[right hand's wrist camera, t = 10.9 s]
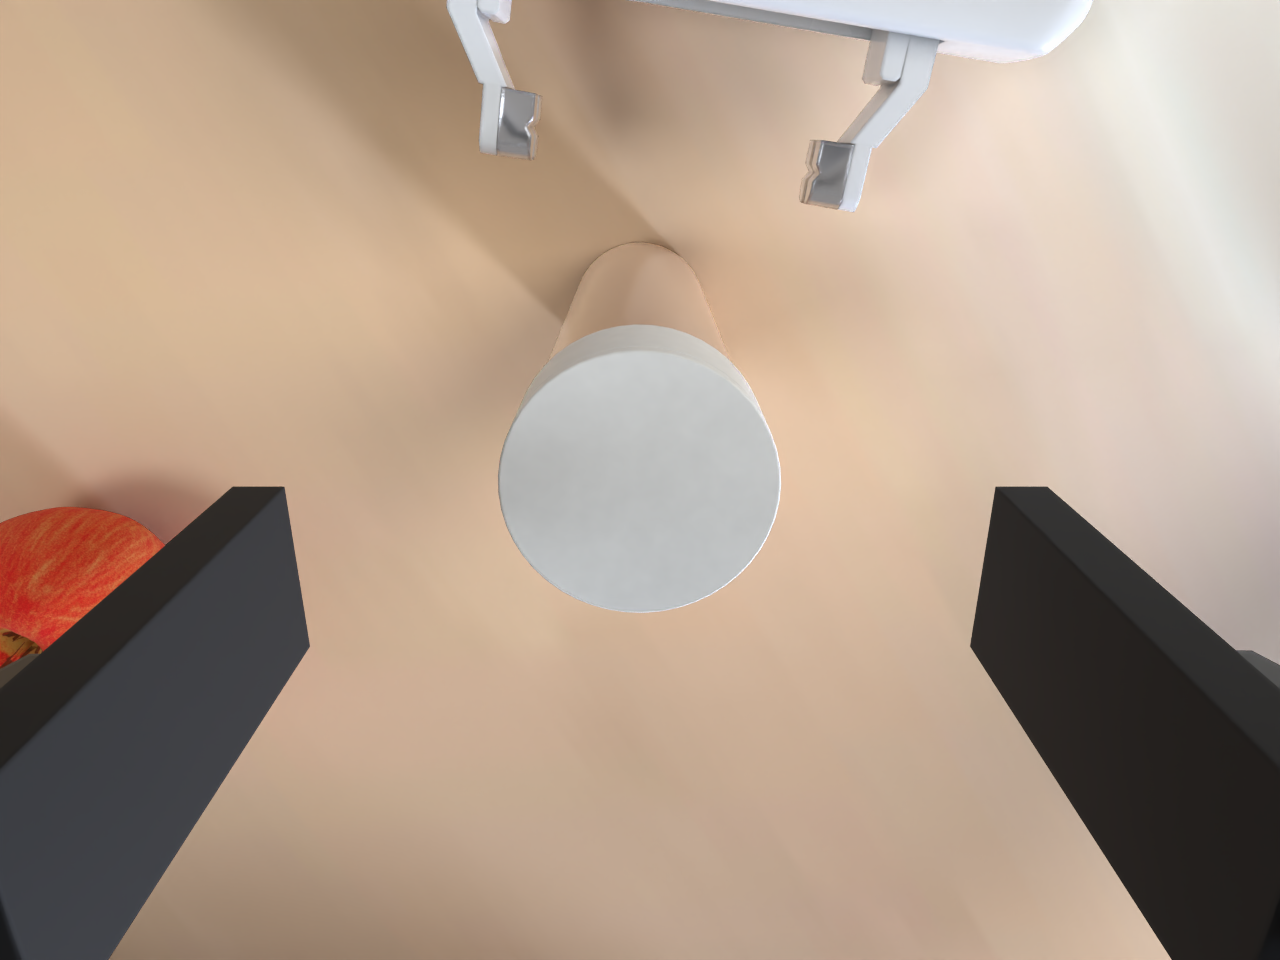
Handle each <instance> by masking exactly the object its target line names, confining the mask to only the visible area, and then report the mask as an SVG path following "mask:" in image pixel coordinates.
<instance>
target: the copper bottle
mask: <svg viewBox="0 0 1280 960" xmlns="http://www.w3.org/2000/svg"><path fill="white" fill-rule="evenodd" d="M625 325H655V326H661V327H667V328H672V329H675V330H678V331H681V332H685V333H687V334H690V335H692V336H694V337H696V338H698V339H701V340H703V341H704V342H706V343H707V344H709V345H710V346H712V347H714V348H715V349H717V350H718V351H719V352H720V353H721V354H723V355H724V356H725V357H726V358H727V359H729V360H730V357H729V355H728V352H727V350H726V347H725V345H724V342H723V340H722V337H721V335H720V332H719V330H718V327H717V325H716V322H715V320H714V317H713V315H712V312H711V310H710V307H709V305H708V302H707V300H706V297H705V295H704V292H703V290H702V287H701V285H700V282H699V280H698V278H697V276H696V274H695V273H694V271H693V270H692V268H691V267H690V266H689V265H688V264H687V262H686V261H685V260H683V259H682V258H681V257H680V256H679V255H677V254H676V253H674V252H673V251H671V250H669V249H667V248H665V247H663V246H659V245H656V244H651V243H643V242H636V243H628V244H623V245H620V246H617V247H615V248H612V249H610V250H608V251H607V252H605V253H603V254H602V255H601V256H599V257H598V258H597V259H596V260H595V261H594V262H593V263H592V264H591V265H590V266H589V268H588V269H587V270H586V272H585V274H584V275H583V277H582V279H581V281H580V284H579V286H578V288H577V291H576V293H575V296H574V298H573V301H572V303H571V306H570V308H569V311H568V313H567V316H566V318H565V321H564V323H563V326H562V328H561V331H560V333H559V336H558V338H557V341H556V343H555V346H554V348H553V351H552V353H551V355H550V358H549V360H548V362H549V361H550V360H551V359H552V358H553V357H554V356H555V355H556V354H557V353H559V352H560V351H561V350H563V349H564V348H565V347H567V346H568V345H570V344H571V343H573V342H575V341H577V340H579V339H581V338H583V337H584V336H587V335H589V334H592V333H595V332H597V331H600V330H604V329H608V328H612V327H617V326H625ZM730 361H731V360H730Z"/></svg>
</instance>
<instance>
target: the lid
mask: <svg viewBox="0 0 1280 960" xmlns="http://www.w3.org/2000/svg"><path fill="white" fill-rule="evenodd" d="M780 489H781V475H780V464H779V458H778V453H777V449H776V446H775V443H774V440H773V437H772V434H771V432H770V429H769V427H768V425H767V422H766V420H765V418H764V416H763V413H762V411H761V409H760V406H759V404H758V402H757V400H756V398H755V396H754V394H753V392H752V390H751V388H750V386H749V384H748V383H747V381H746V380H745V378H744V377H743V375H742V374H741V372H740V371H739V370H738V369H737V368H736V367H735V366H734V365H733V364H732V362H731V361H730V360H729V359H727V358H726V357H725V356H724V355H723V354H721V353H720V352H719V351H718V350H717V349H715V348H714V347H712V346H710V345H709V344H707V343H706V342H704V341H703V340H701V339H698V338H696V337H694V336H692V335H690V334H687V333H685V332H681V331H678V330H675V329H672V328H667V327H661V326H655V325H625V326H617V327H612V328H608V329H604V330H600V331H597V332H595V333H592V334H589V335H587V336H584V337H583V338H581V339H579V340H577V341H575V342H573V343H571V344H570V345H568V346H567V347H565V348H564V349H563V350H561V351H560V352H559V353H557V354H556V355H555V356H554V357H553V358H552V359H551V360H550V361H549V362H548V363H546V364H545V365H544V367H543V368H542V369H541V370H540V372H539V373H538V374H537V375H536V377H535V378H534V379H533V381H532V383H531V384H530V386H529V388H528V390H527V391H526V393H525V395H524V398H523V400H522V402H521V405H520V407H519V409H518V411H517V414H516V416H515V418H514V420H513V423H512V425H511V427H510V430H509V432H508V434H507V437H506V439H505V442H504V445H503V449H502V453H501V457H500V463H499V472H498V492H499V499H500V505H501V510H502V513H503V516H504V520H505V523H506V526H507V528H508V530H509V532H510V534H511V537H512V539H513V541H514V543H515V544H516V546H517V547H518V549H519V550H520V552H521V553H522V555H523V556H524V557H525V559H526V560H527V561H528V562H529V563H530V565H531V566H532V567H533V568H534V569H535V570H536V571H537V572H538V573H539V574H540V575H541V576H542V577H544V578H545V579H546V580H547V581H548V582H550V583H551V584H552V585H554V586H555V587H557V588H558V589H560V590H561V591H563V592H565V593H566V594H568V595H570V596H572V597H574V598H576V599H578V600H581V601H583V602H586V603H588V604H591V605H594V606H597V607H601V608H605V609H609V610H615V611H622V612H639V613H645V612H657V611H664V610H669V609H674V608H679V607H682V606H685V605H688V604H691V603H694V602H696V601H698V600H701V599H703V598H705V597H707V596H709V595H711V594H713V593H714V592H716V591H718V590H719V589H721V588H722V587H724V586H725V585H727V584H728V583H729V582H730V581H732V580H733V579H734V578H735V577H737V576H738V575H739V574H740V573H741V572H742V571H743V570H744V569H745V568H746V567H747V566H748V565H749V564H750V563H751V561H752V560H753V559H754V557H755V556H756V555H757V553H758V552H759V550H760V549H761V547H762V546H763V544H764V542H765V540H766V538H767V537H768V535H769V533H770V530H771V528H772V525H773V523H774V520H775V517H776V513H777V509H778V505H779V499H780Z"/></svg>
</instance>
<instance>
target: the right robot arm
mask: <svg viewBox="0 0 1280 960" xmlns="http://www.w3.org/2000/svg"><path fill="white" fill-rule="evenodd" d="M309 647H310V644H309V638H308V632H307V625H306V619H305V613H304V607H303V600H302V594H301V588H300V582H299V575H298V569H297V563H296V557H295V550H294V544H293V538H292V532H291V525H290V519H289V513H288V507H287V500H286V494H285V488H284V487H232V488H231V489H230V490H229V491H227V492H226V493H225V494H224V495H223V496H222V497H220V498H219V499H218V500H217V501H216V502H215V503H214V504H212V505H211V506H210V507H209V508H208V509H207V510H205V511H204V512H203V513H202V514H201V515H200V516H199V517H197V518H196V519H195V520H194V521H193V522H192V523H190V524H189V525H188V526H187V527H186V528H185V529H184V530H182V531H181V532H180V533H179V534H178V535H177V536H176V537H174V538H173V539H172V540H171V541H170V542H169V543H167V544H166V545H165V546H164V547H163V548H162V549H161V550H159V551H158V552H157V553H156V554H155V555H154V556H152V557H151V558H150V559H149V560H148V561H147V562H146V563H144V564H143V565H142V566H141V567H140V568H139V569H137V570H136V571H135V572H134V573H133V574H132V575H131V576H129V577H128V578H127V579H126V580H125V581H124V582H123V583H121V584H120V585H119V586H118V587H117V588H116V589H114V590H113V591H112V592H111V593H110V594H109V595H108V596H106V597H105V598H104V599H103V600H102V601H101V602H99V603H98V604H97V605H96V606H95V607H94V608H93V609H91V610H90V611H89V612H88V613H87V614H86V615H85V616H83V617H82V618H81V619H80V620H79V621H78V622H76V623H75V624H74V625H73V626H72V627H71V628H70V629H68V630H67V631H66V632H65V633H64V634H63V635H61V636H60V637H59V638H58V639H57V640H56V641H55V642H53V643H52V644H51V645H50V646H49V647H48V648H46V649H45V650H44V651H43V652H42V653H41V654H28V655H26V656H24V657H22V658H20V659H18V660H16V661H14V662H12V663H11V664H9V665H7V666H5V667H3V668H1V669H0V960H108V959H109V958H110V956H111V955H112V953H113V951H114V950H115V948H116V947H117V945H118V944H119V942H120V941H121V939H122V937H123V936H124V934H125V933H126V931H127V930H128V928H129V927H130V925H131V923H132V922H133V920H134V919H135V917H136V916H137V914H138V913H139V911H140V909H141V908H142V906H143V905H144V903H145V902H146V900H147V899H148V897H149V895H150V894H151V892H152V891H153V889H154V888H155V886H156V885H157V883H158V881H159V880H160V878H161V877H162V875H163V874H164V872H165V871H166V869H167V867H168V866H169V864H170V863H171V861H172V860H173V858H174V857H175V855H176V854H177V852H178V850H179V849H180V847H181V846H182V844H183V843H184V841H185V840H186V838H187V836H188V835H189V833H190V832H191V830H192V829H193V827H194V826H195V824H196V822H197V821H198V819H199V818H200V816H201V815H202V813H203V812H204V810H205V808H206V807H207V805H208V804H209V802H210V801H211V799H212V798H213V796H214V794H215V793H216V791H217V790H218V788H219V787H220V785H221V784H222V782H223V780H224V779H225V777H226V776H227V774H228V773H229V771H230V770H231V768H232V766H233V765H234V763H235V762H236V760H237V759H238V757H239V756H240V754H241V753H242V751H243V749H244V748H245V746H246V745H247V743H248V742H249V740H250V739H251V737H252V735H253V734H254V732H255V731H256V729H257V728H258V726H259V725H260V723H261V721H262V720H263V718H264V717H265V715H266V714H267V712H268V711H269V709H270V707H271V706H272V704H273V703H274V701H275V700H276V698H277V697H278V695H279V693H280V692H281V690H282V689H283V687H284V686H285V684H286V683H287V681H288V679H289V678H290V676H291V675H292V673H293V672H294V670H295V669H296V667H297V665H298V664H299V662H300V661H301V659H302V658H303V656H304V655H305V653H306V652H307V650H308V648H309ZM970 647H971V648H972V650H973V652H974V653H975V655H976V656H977V658H978V659H979V661H980V662H981V664H982V665H983V667H984V669H985V670H986V672H987V673H988V675H989V676H990V678H991V679H992V681H993V683H994V684H995V686H996V687H997V689H998V690H999V692H1000V693H1001V695H1002V697H1003V698H1004V700H1005V701H1006V703H1007V704H1008V706H1009V707H1010V709H1011V711H1012V712H1013V714H1014V715H1015V717H1016V718H1017V720H1018V721H1019V723H1020V725H1021V726H1022V728H1023V729H1024V731H1025V732H1026V734H1027V735H1028V737H1029V739H1030V740H1031V742H1032V743H1033V745H1034V746H1035V748H1036V749H1037V751H1038V753H1039V754H1040V756H1041V757H1042V759H1043V760H1044V762H1045V763H1046V765H1047V766H1048V768H1049V770H1050V771H1051V773H1052V774H1053V776H1054V777H1055V779H1056V780H1057V782H1058V784H1059V785H1060V787H1061V788H1062V790H1063V791H1064V793H1065V794H1066V796H1067V798H1068V799H1069V801H1070V802H1071V804H1072V805H1073V807H1074V808H1075V810H1076V812H1077V813H1078V815H1079V816H1080V818H1081V819H1082V821H1083V822H1084V824H1085V826H1086V827H1087V829H1088V830H1089V832H1090V833H1091V835H1092V836H1093V838H1094V840H1095V841H1096V843H1097V844H1098V846H1099V847H1100V849H1101V850H1102V852H1103V854H1104V855H1105V857H1106V858H1107V860H1108V861H1109V863H1110V864H1111V866H1112V867H1113V869H1114V871H1115V872H1116V874H1117V875H1118V877H1119V878H1120V880H1121V881H1122V883H1123V885H1124V886H1125V888H1126V889H1127V891H1128V892H1129V894H1130V895H1131V897H1132V899H1133V900H1134V902H1135V903H1136V905H1137V906H1138V908H1139V909H1140V911H1141V913H1142V914H1143V916H1144V917H1145V919H1146V920H1147V922H1148V923H1149V925H1150V927H1151V928H1152V930H1153V931H1154V933H1155V934H1156V936H1157V937H1158V939H1159V941H1160V942H1161V944H1162V945H1163V947H1164V948H1165V950H1166V951H1167V953H1168V955H1169V956H1170V958H1171V959H1172V960H1280V665H1278V664H1276V663H1274V662H1272V661H1271V660H1269V659H1267V658H1265V657H1263V656H1261V655H1259V654H1257V653H1255V652H1253V651H1236V650H1235V649H1234V648H1232V647H1231V646H1230V645H1229V644H1228V643H1227V642H1225V641H1224V640H1223V639H1222V638H1221V637H1220V636H1219V635H1217V634H1216V633H1215V632H1214V631H1213V630H1212V629H1210V628H1209V627H1208V626H1207V625H1206V624H1205V623H1204V622H1202V621H1201V620H1200V619H1199V618H1198V617H1197V616H1196V615H1194V614H1193V613H1192V612H1191V611H1190V610H1189V609H1187V608H1186V607H1185V606H1184V605H1183V604H1182V603H1181V602H1179V601H1178V600H1177V599H1176V598H1175V597H1174V596H1172V595H1171V594H1170V593H1169V592H1168V591H1167V590H1166V589H1164V588H1163V587H1162V586H1161V585H1160V584H1159V583H1157V582H1156V581H1155V580H1154V579H1153V578H1152V577H1151V576H1149V575H1148V574H1147V573H1146V572H1145V571H1144V570H1143V569H1141V568H1140V567H1139V566H1138V565H1137V564H1136V563H1134V562H1133V561H1132V560H1131V559H1130V558H1129V557H1128V556H1126V555H1125V554H1124V553H1123V552H1122V551H1121V550H1119V549H1118V548H1117V547H1116V546H1115V545H1114V544H1113V543H1111V542H1110V541H1109V540H1108V539H1107V538H1106V537H1104V536H1103V535H1102V534H1101V533H1100V532H1099V531H1098V530H1096V529H1095V528H1094V527H1093V526H1092V525H1091V524H1090V523H1088V522H1087V521H1086V520H1085V519H1084V518H1083V517H1081V516H1080V515H1079V514H1078V513H1077V512H1076V511H1075V510H1073V509H1072V508H1071V507H1070V506H1069V505H1068V504H1066V503H1065V502H1064V501H1063V500H1062V499H1061V498H1060V497H1058V496H1057V495H1056V494H1055V493H1054V492H1053V491H1051V490H1050V489H1049V488H1048V487H996V488H995V494H994V500H993V507H992V513H991V519H990V525H989V532H988V538H987V544H986V550H985V557H984V563H983V569H982V575H981V582H980V588H979V594H978V601H977V607H976V613H975V619H974V626H973V632H972V638H971V644H970Z"/></svg>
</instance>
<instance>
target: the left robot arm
mask: <svg viewBox="0 0 1280 960" xmlns="http://www.w3.org/2000/svg"><path fill="white" fill-rule="evenodd" d="M628 1H634V2H640V3H646V4H652V5H658V6H664V7H670V8H676V9H682V10H688V11H693V12H699V13H705V14H711V15H717V16H723V17H729V18H735V19H741V20H747V21H752V22H758V23H764V24H770V25H776V26H782V27H788V28H794V29H800V30H806V31H812V32H817V33H823V34H829V35H835V36H841V37H847V38H853V39H859V40H865V41H870V43H869V48H868V53H867V58H866V62H865V67H864V72H863V77H862V80H863V81H864V83H865V84H870V85H875V86H877V85H881V87H880V89H879V90H878V91H877V92H876V94H875V95H874V96H873V97H872V99H871V100H870V101H869V102H868V104H867V105H866V106H865V107H864V109H863V110H862V111H861V112H860V114H859V115H858V116H857V117H856V119H855V120H854V121H853V122H852V124H851V125H850V126H849V127H848V129H847V130H846V131H845V132H844V134H843V135H842V136H841V137H840V139H839V140H838V141H837V142H831V141H824V140H810V144H809V148H808V153H807V158H806V165H807V168H808V170H809V172H808V173H807V174H806V175H805V176H804V177H803V178H802V182H801V187H800V195H799V200H800V202H802V203H804V204H810V205H815V206H821V207H826V208H832V209H839V210H845V211H850V212H854V211H855V209H856V208H857V206H858V203H859V200H860V197H861V193H862V189H863V184H864V180H865V176H866V171H867V167H868V163H869V158H870V154H871V150H872V148H877V147H878V146H879V144H880V143H881V142H882V141H883V140H884V139H885V137H886V136H887V135H888V134H889V133H890V132H891V130H892V129H893V128H894V127H895V126H896V125H897V123H898V122H899V121H900V120H901V119H902V118H903V116H904V115H905V114H906V113H907V112H908V111H909V109H910V108H911V107H912V106H913V105H914V103H915V102H916V101H917V100H918V99H919V98H920V96H921V95H922V94H923V93H924V92H925V91H926V89H927V88H928V84H929V80H930V76H931V72H932V69H933V65H934V61H935V57H936V53H941V54H947V55H953V56H959V57H965V58H971V59H977V60H983V61H989V62H995V63H1011V62H1018V61H1025V60H1029V59H1033V58H1037V57H1041V56H1043V55H1046V54H1048V53H1049V52H1050V51H1051V50H1053V49H1054V48H1055V47H1056V46H1058V45H1059V44H1060V43H1061V42H1062V41H1063V40H1065V39H1066V38H1067V37H1068V36H1069V35H1070V34H1071V33H1072V32H1073V31H1074V30H1075V29H1076V28H1077V27H1078V26H1079V25H1080V24H1081V23H1082V21H1083V20H1084V18H1085V17H1086V15H1087V13H1088V11H1089V9H1090V7H1091V4H1092V2H1093V0H628ZM511 3H512V0H447V9H448V12H449V14H450V17H451V19H452V21H453V24H454V26H455V28H456V31H457V33H458V35H459V38H460V40H461V42H462V45H463V47H464V50H465V52H466V54H467V57H468V59H469V61H470V64H471V66H472V68H473V71H474V73H475V75H476V78H477V80H478V83H481V84H483V94H482V107H481V120H480V133H479V147H480V153H485V154H491V155H498V156H504V157H511V158H518V159H525V160H534V159H535V157H536V153H537V146H538V137H539V136H538V134H537V132H536V130H535V128H534V127H535V126H536V124H537V123H538V122H539V121H540V117H541V106H542V96H541V95H538V94H535V93H530V92H524V91H519V90H515V88H514V85H513V83H512V80H511V77H510V75H509V72H508V70H507V67H506V65H505V62H504V60H503V57H502V54H501V52H500V49H499V47H498V44H497V42H496V39H495V37H494V34H493V31H492V29H491V26H490V24H489V19H491V20H492V21H493V22H498V23H504V24H506V23H507V22H508V21H510V13H511Z"/></svg>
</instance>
